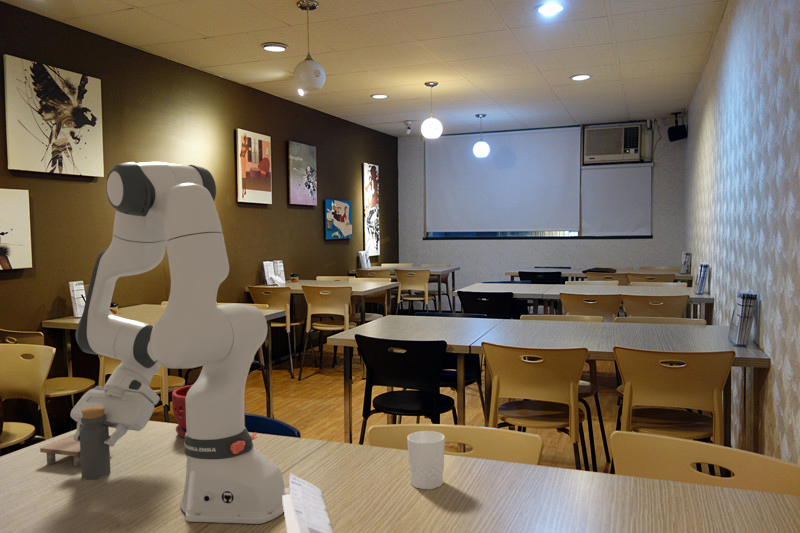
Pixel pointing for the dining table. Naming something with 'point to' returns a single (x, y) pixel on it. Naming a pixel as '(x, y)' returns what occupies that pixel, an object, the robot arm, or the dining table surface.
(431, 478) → the white cup
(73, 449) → the small wooden stand
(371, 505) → the dining table surface
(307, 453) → the dining table surface
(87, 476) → the bottle
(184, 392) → the plant pot
